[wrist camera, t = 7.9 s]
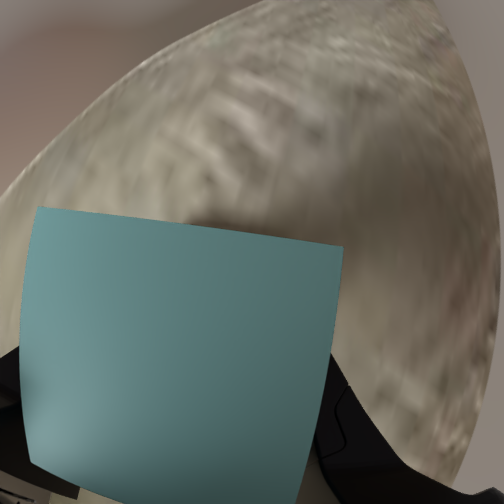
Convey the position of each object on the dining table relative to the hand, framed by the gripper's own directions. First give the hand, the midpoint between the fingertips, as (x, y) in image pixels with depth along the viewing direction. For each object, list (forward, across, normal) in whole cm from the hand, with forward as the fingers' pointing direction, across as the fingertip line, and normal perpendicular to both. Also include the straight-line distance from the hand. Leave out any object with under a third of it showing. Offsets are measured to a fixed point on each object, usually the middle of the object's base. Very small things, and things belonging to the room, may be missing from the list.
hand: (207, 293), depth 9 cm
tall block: (+4, 0, +6) cm, 7 cm away
